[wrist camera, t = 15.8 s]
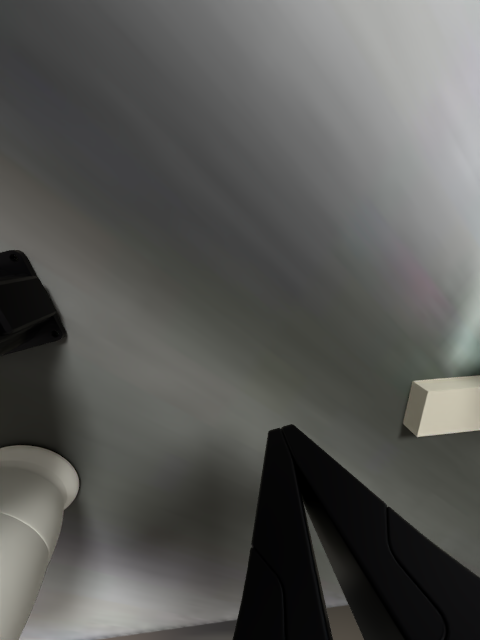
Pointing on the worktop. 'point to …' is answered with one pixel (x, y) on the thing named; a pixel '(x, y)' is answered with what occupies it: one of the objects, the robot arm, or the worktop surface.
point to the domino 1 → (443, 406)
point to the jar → (29, 526)
